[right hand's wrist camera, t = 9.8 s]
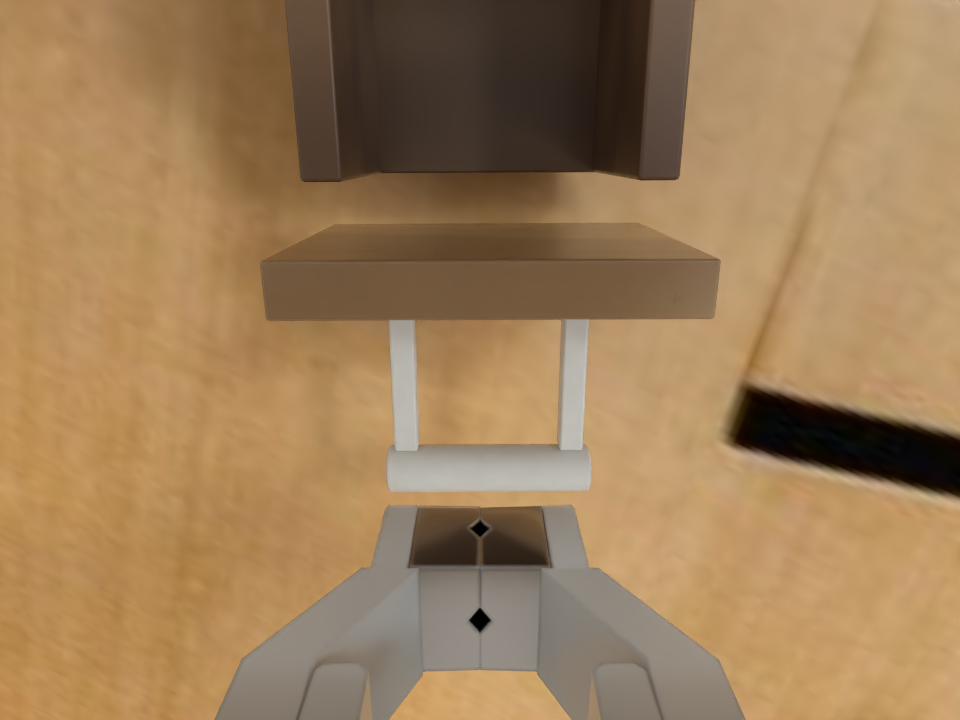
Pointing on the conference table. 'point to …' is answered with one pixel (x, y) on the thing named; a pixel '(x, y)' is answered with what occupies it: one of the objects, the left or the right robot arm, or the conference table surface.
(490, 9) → the drawer
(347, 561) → the conference table surface
